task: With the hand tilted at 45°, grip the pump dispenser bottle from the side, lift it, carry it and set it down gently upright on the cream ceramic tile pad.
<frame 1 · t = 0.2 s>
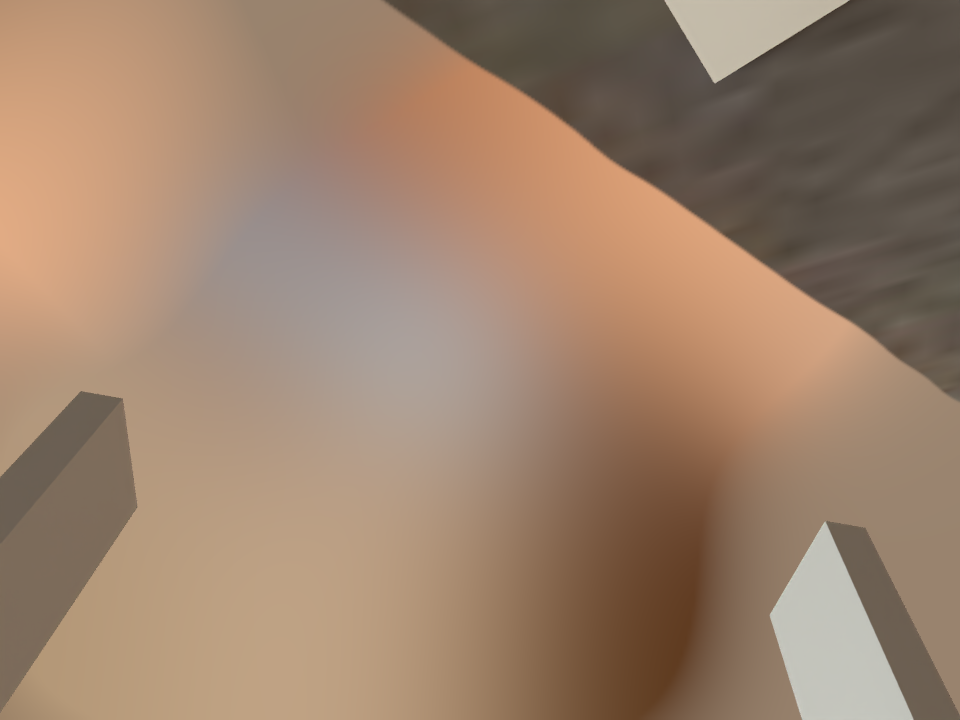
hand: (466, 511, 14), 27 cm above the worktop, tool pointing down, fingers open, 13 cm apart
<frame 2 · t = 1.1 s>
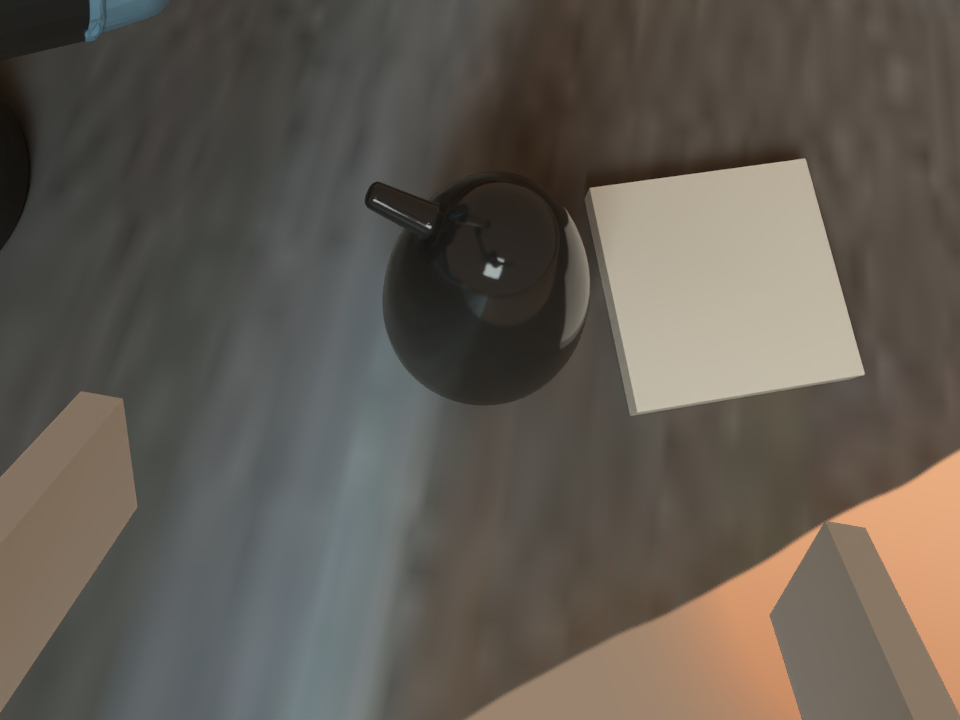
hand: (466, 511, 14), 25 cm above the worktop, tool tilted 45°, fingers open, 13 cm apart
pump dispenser: (477, 324, 41), on the worktop
tile pad: (715, 287, 42), on the worktop
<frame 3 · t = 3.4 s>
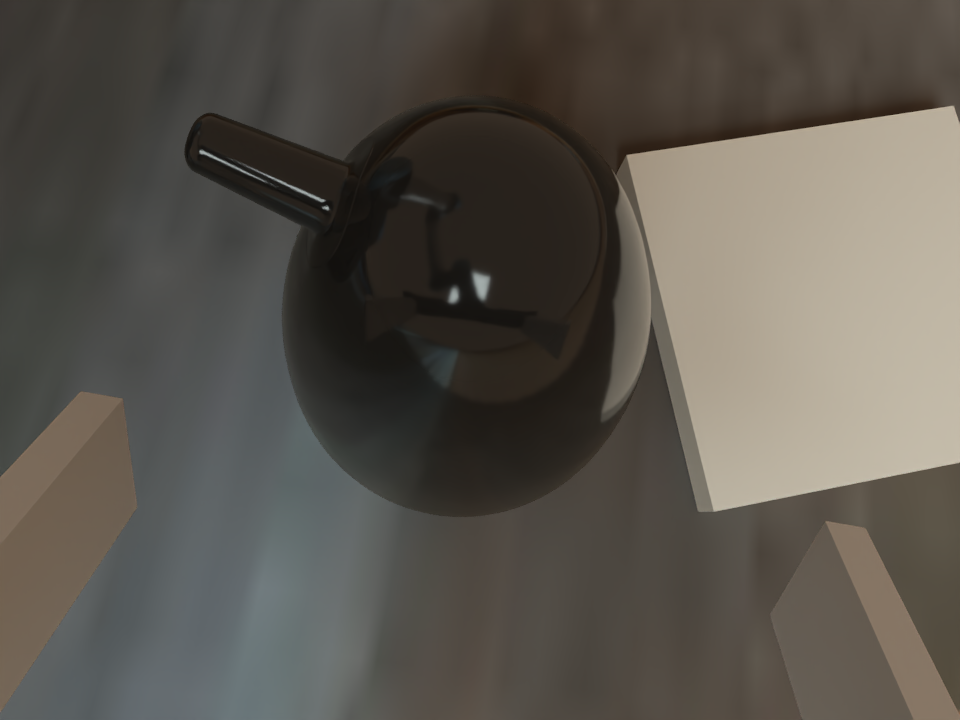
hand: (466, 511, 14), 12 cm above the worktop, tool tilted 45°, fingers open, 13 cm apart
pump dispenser: (455, 371, 26), on the worktop
tile pad: (820, 306, 28), on the worktop
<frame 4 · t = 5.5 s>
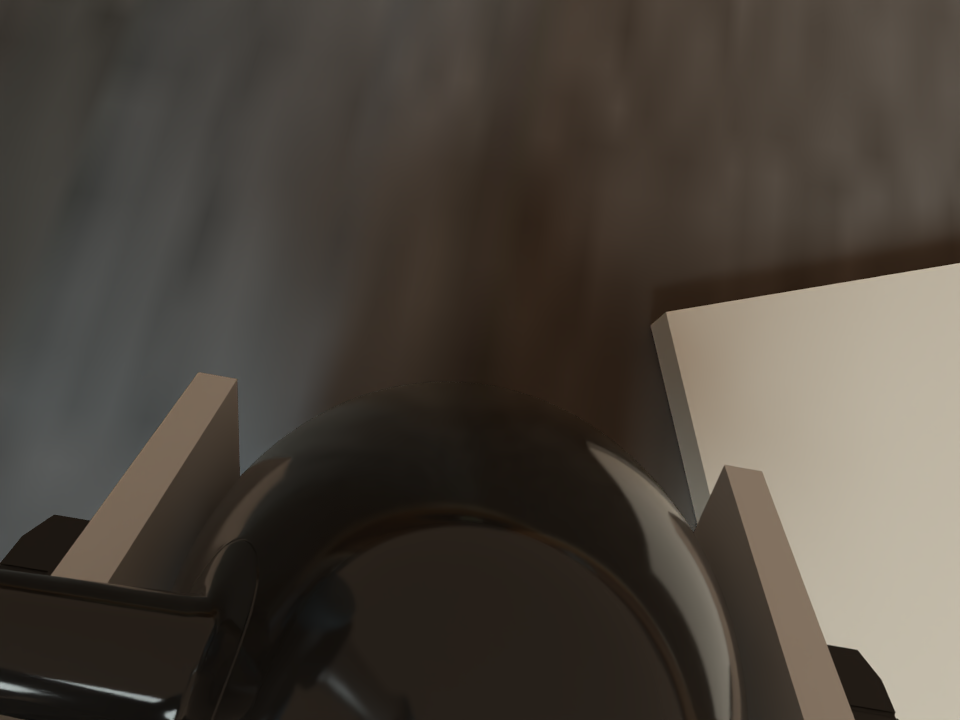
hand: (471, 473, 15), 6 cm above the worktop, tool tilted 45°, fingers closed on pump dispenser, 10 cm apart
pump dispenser: (440, 595, 20), on the worktop, touching gripper
tile pad: (914, 502, 21), on the worktop
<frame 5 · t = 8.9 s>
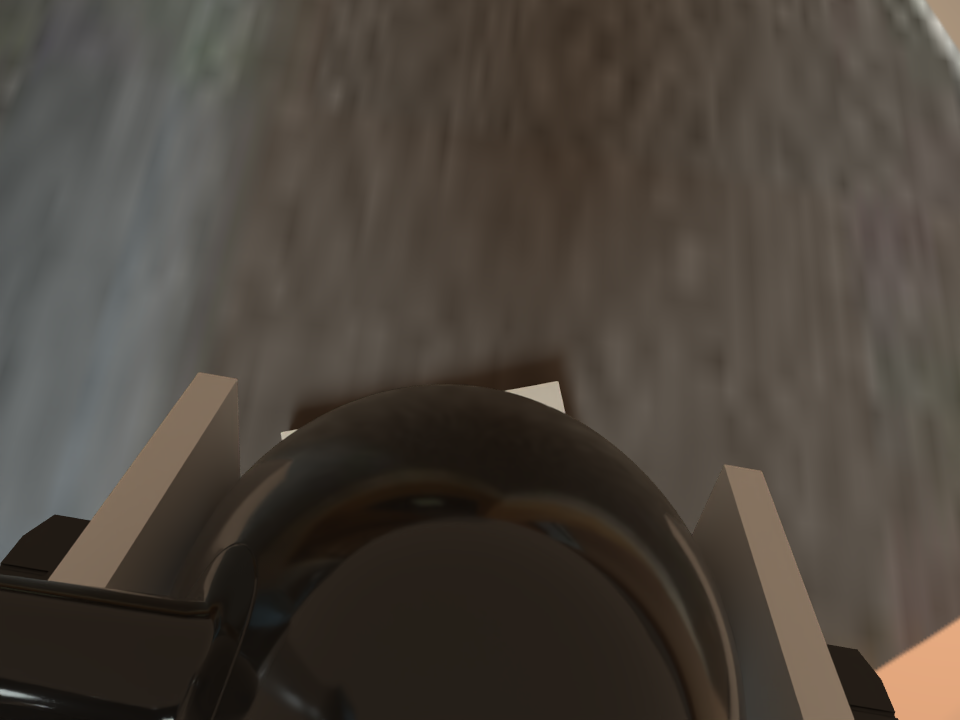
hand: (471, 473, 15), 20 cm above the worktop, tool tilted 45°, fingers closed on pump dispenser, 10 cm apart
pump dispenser: (439, 597, 20), point 14 cm above the worktop, touching gripper
tile pad: (447, 546, 34), on the worktop
when the fingers open (9 cm above the worktop, at t = 12.2 s): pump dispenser drops 1 cm, resting on tile pad.
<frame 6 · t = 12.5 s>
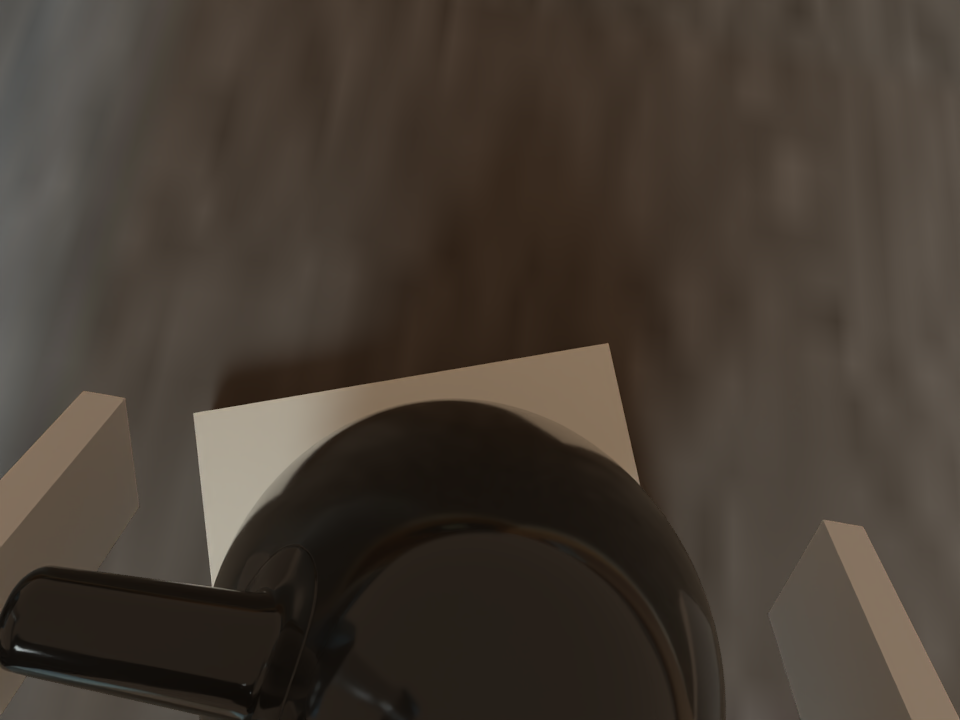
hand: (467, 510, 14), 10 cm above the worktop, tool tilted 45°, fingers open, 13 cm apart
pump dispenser: (440, 594, 21), point 1 cm above the worktop, touching tile pad
tile pad: (441, 586, 23), on the worktop
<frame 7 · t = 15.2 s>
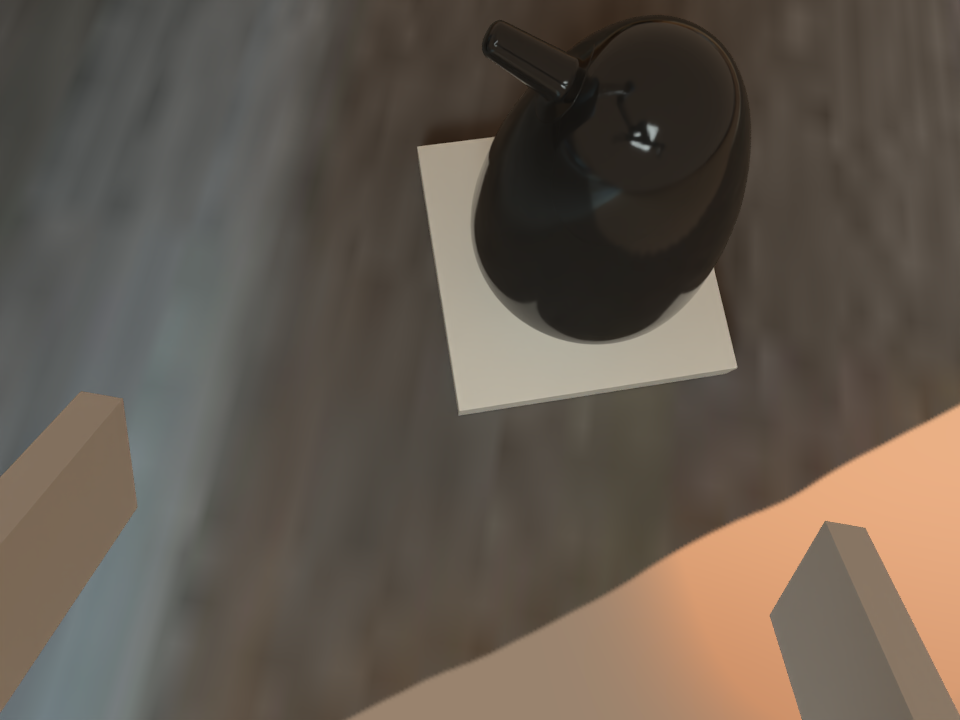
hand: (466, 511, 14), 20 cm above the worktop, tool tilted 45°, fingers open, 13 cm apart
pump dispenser: (572, 257, 35), point 1 cm above the worktop, touching tile pad
tile pad: (568, 265, 36), on the worktop
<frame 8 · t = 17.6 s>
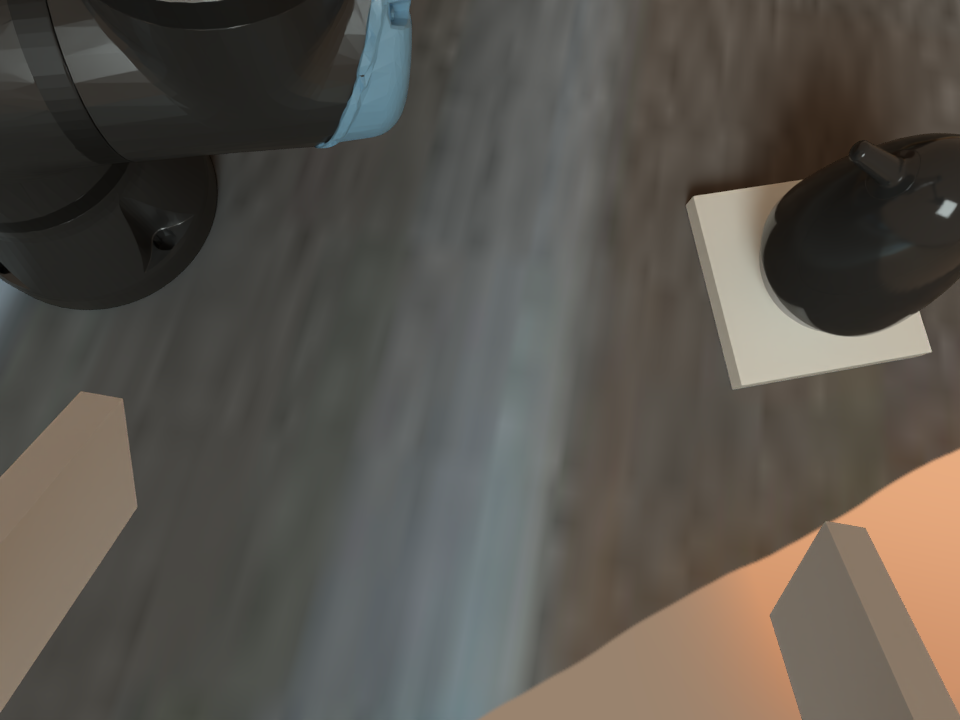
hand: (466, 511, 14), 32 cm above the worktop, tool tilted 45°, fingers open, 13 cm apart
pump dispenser: (808, 275, 48), point 1 cm above the worktop, touching tile pad
tile pad: (799, 280, 49), on the worktop
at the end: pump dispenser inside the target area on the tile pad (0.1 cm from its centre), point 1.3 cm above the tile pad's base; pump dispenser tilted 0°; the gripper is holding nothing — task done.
